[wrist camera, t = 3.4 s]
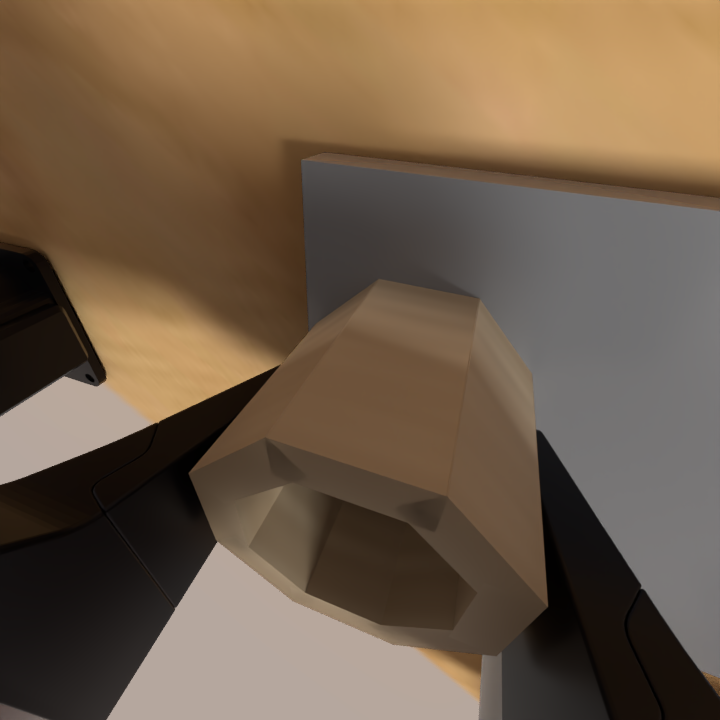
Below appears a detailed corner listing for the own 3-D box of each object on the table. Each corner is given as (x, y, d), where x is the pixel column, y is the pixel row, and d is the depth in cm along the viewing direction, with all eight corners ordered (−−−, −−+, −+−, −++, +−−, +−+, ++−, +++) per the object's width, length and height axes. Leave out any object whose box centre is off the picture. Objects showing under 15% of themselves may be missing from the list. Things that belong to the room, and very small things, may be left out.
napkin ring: (318, 421, 12) (229, 573, 8) (314, 265, 9) (159, 402, 5) (487, 472, 11) (473, 679, 7) (559, 313, 7) (609, 548, 4)
